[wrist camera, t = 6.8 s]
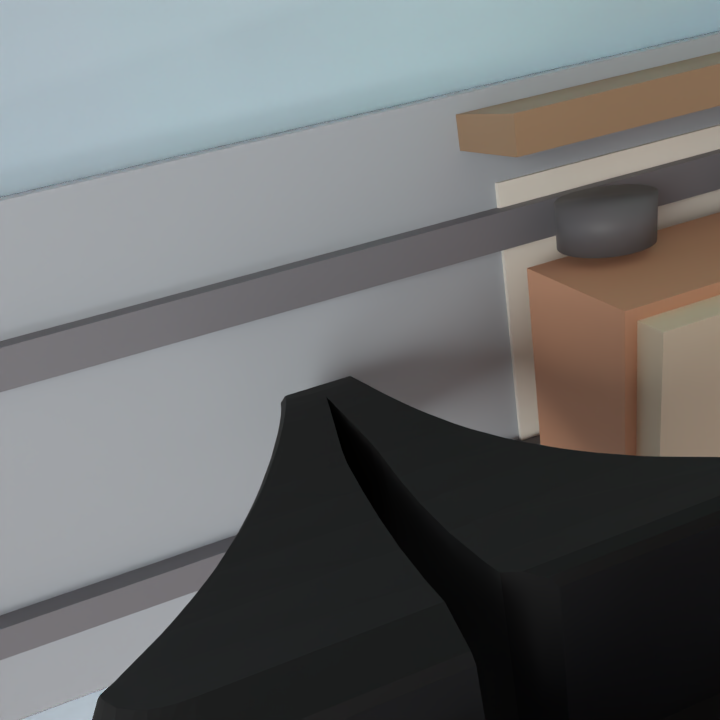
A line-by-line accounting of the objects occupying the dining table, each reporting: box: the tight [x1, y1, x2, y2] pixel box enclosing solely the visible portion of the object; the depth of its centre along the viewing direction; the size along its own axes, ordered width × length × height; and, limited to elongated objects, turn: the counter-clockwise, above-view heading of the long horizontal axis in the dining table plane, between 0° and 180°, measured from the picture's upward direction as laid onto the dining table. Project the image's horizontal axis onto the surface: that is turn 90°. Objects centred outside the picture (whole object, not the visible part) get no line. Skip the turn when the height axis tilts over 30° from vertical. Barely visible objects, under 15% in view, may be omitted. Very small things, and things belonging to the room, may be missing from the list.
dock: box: [0, 31, 720, 720], centre depth 11 cm, size 10×21×3 cm, turn 102°
